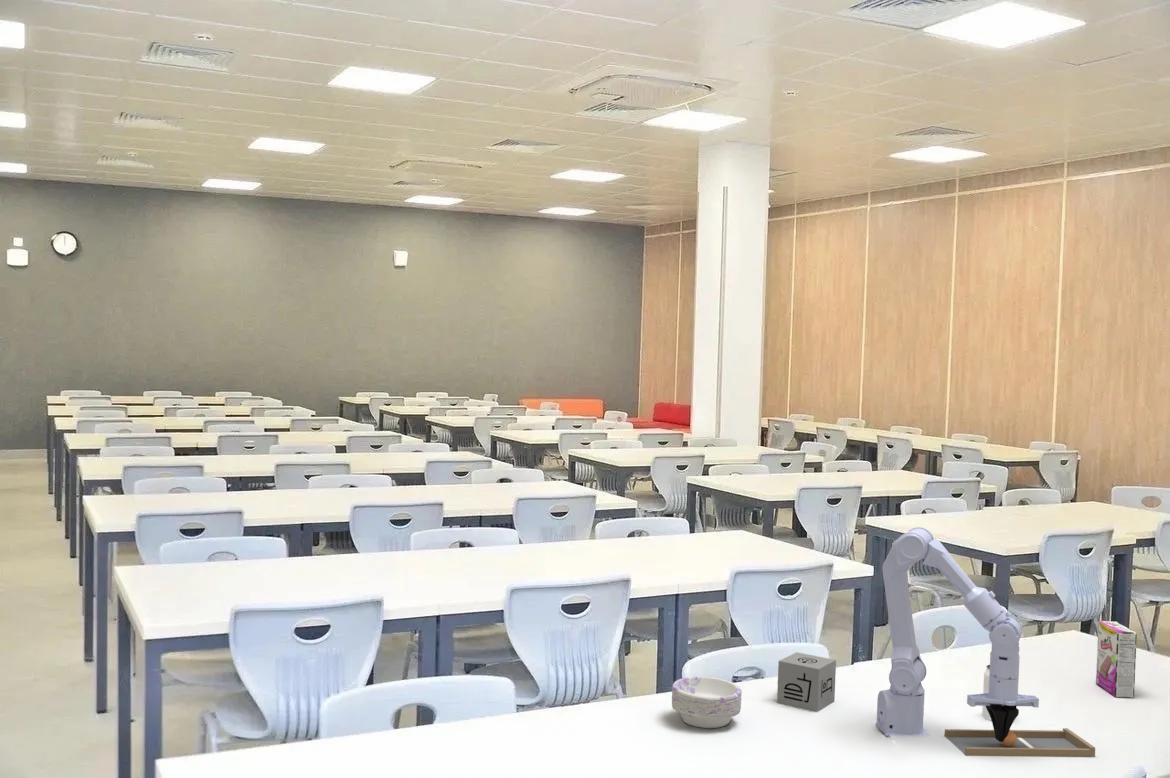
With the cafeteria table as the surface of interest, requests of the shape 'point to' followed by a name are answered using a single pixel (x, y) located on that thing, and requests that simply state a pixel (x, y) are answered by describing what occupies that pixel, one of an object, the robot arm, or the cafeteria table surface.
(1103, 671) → the candy bar box
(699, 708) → the paper bowls
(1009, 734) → the ball
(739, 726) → the cafeteria table surface
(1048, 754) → the lane
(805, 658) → the icon cube
